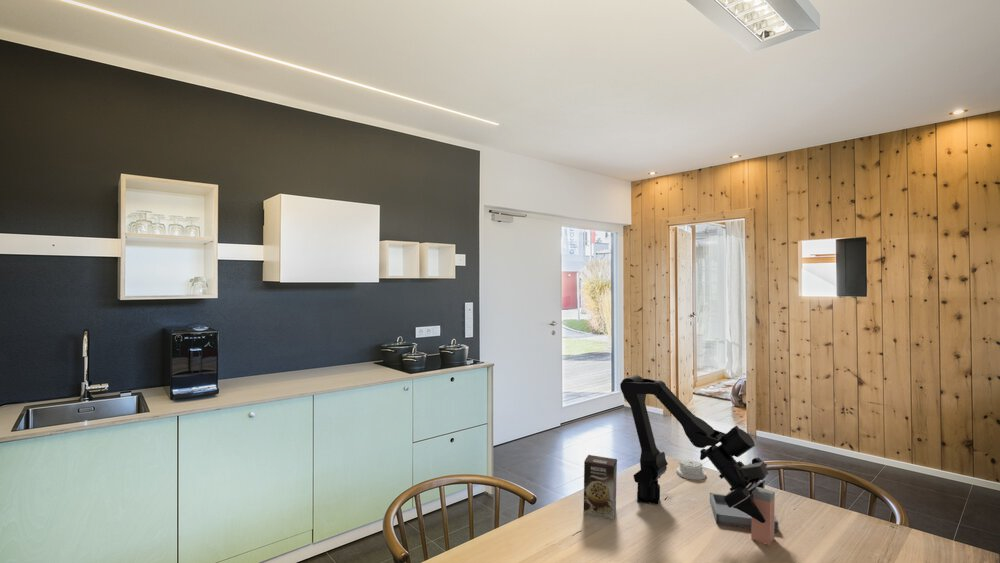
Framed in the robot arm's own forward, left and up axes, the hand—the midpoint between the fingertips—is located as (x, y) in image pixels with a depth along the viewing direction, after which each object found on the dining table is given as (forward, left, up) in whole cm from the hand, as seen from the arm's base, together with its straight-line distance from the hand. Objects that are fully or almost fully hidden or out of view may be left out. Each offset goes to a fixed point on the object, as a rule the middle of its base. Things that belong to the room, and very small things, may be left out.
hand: (768, 516), depth 131 cm
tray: (-4, +13, -7) cm, 15 cm away
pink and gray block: (-1, +1, -7) cm, 7 cm away
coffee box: (-45, +3, -7) cm, 46 cm away
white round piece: (-16, +40, -7) cm, 44 cm away
